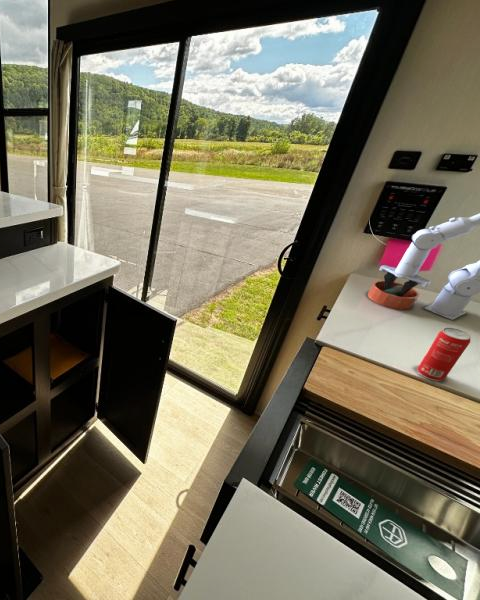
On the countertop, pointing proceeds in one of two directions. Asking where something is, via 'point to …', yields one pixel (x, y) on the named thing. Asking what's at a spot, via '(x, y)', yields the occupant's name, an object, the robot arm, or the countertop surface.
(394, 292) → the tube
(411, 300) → the bowl
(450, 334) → the beverage can
